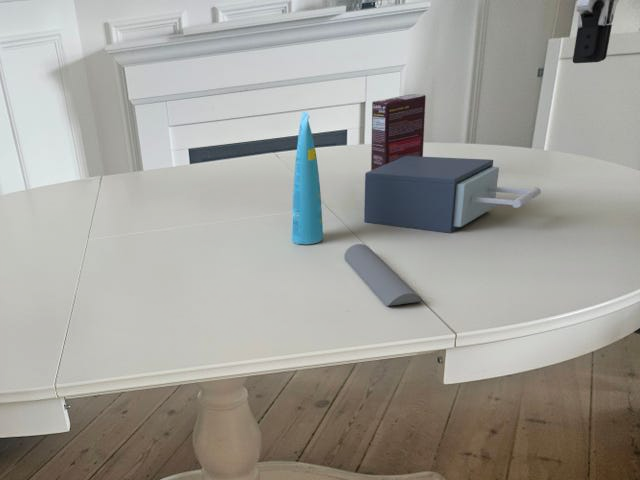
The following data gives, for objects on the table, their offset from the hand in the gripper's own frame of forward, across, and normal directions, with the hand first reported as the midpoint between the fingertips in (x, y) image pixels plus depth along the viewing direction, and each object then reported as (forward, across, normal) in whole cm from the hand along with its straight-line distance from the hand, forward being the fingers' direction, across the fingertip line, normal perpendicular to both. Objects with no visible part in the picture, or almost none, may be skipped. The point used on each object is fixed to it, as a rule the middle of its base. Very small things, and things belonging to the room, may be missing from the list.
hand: (588, 61), depth 79 cm
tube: (+22, -18, +30) cm, 41 cm away
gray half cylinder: (+22, -27, +12) cm, 37 cm away
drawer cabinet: (+22, 0, +20) cm, 30 cm away
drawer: (+21, 0, +15) cm, 26 cm away
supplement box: (+22, +17, +35) cm, 45 cm away
